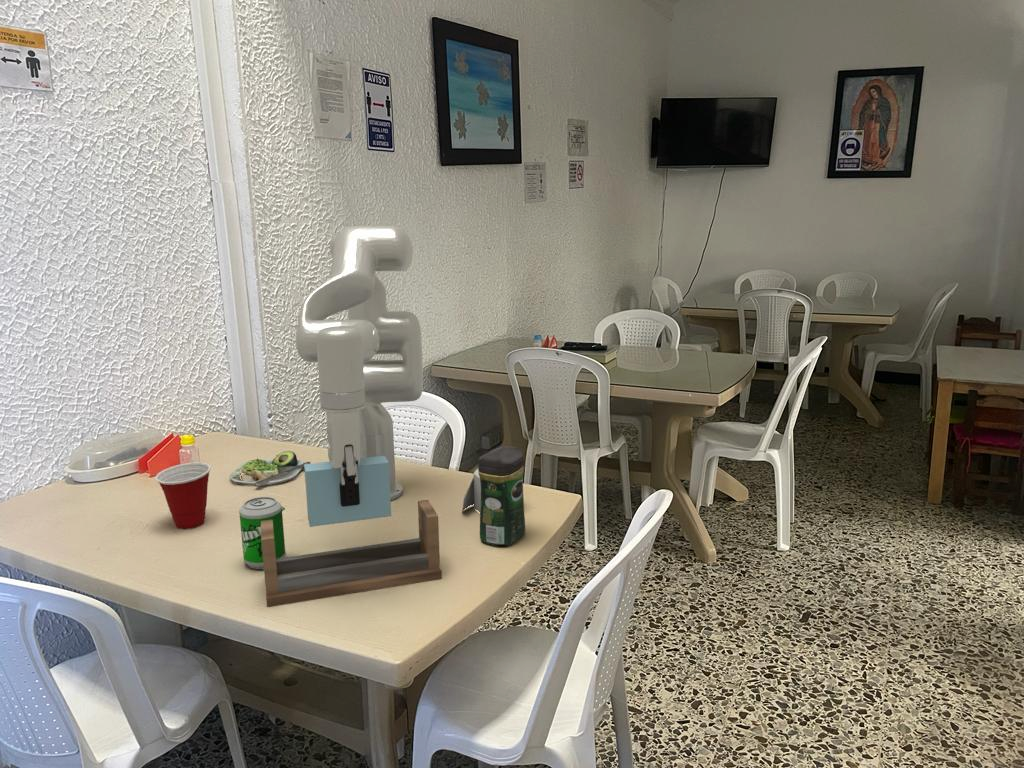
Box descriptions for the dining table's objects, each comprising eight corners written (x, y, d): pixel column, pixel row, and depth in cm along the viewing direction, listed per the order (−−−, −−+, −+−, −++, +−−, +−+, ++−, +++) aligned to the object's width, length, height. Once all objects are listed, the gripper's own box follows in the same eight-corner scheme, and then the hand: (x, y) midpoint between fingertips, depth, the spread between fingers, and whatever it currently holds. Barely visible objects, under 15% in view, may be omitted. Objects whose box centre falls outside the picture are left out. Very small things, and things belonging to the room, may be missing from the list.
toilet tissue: (452, 513, 166) (451, 476, 164) (498, 498, 174) (497, 462, 172) (479, 526, 159) (479, 487, 157) (525, 509, 168) (525, 472, 166)
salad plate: (291, 492, 180) (289, 473, 179) (216, 491, 181) (215, 473, 180) (315, 465, 199) (314, 448, 198) (247, 464, 199) (246, 447, 198)
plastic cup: (152, 524, 161) (145, 471, 158) (202, 509, 169) (196, 458, 166) (174, 539, 154) (168, 483, 151) (225, 523, 161) (220, 469, 159)
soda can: (271, 549, 149) (266, 492, 146) (294, 560, 144) (289, 501, 141) (236, 563, 143) (230, 503, 140) (258, 575, 138) (253, 513, 136)
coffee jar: (497, 525, 159) (495, 440, 155) (530, 532, 156) (530, 446, 152) (472, 542, 151) (471, 453, 147) (507, 551, 148) (506, 460, 143)
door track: (265, 577, 138) (260, 518, 135) (428, 552, 147) (426, 497, 144) (267, 606, 127) (261, 543, 125) (441, 578, 137) (440, 518, 134)
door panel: (308, 518, 134) (304, 464, 132) (387, 508, 138) (384, 455, 136) (309, 526, 130) (305, 471, 128) (391, 516, 135) (388, 462, 132)
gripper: (316, 390, 136) (322, 487, 140) (324, 413, 121) (331, 521, 125) (358, 387, 138) (363, 482, 142) (372, 408, 123) (377, 515, 127)
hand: (348, 499), depth 134 cm, fingers closed on door panel, 4 cm apart
